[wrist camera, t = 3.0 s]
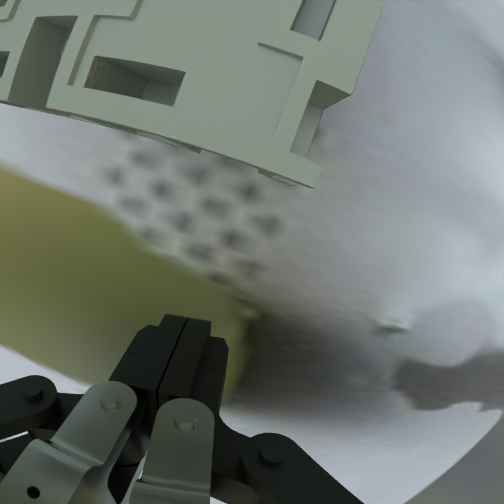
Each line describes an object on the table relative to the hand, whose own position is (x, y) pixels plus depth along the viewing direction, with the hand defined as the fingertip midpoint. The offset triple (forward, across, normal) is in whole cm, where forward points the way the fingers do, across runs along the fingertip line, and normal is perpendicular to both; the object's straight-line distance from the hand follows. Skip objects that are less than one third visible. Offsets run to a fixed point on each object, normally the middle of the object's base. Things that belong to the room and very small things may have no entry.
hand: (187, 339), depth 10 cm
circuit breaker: (+10, 0, -14) cm, 17 cm away
